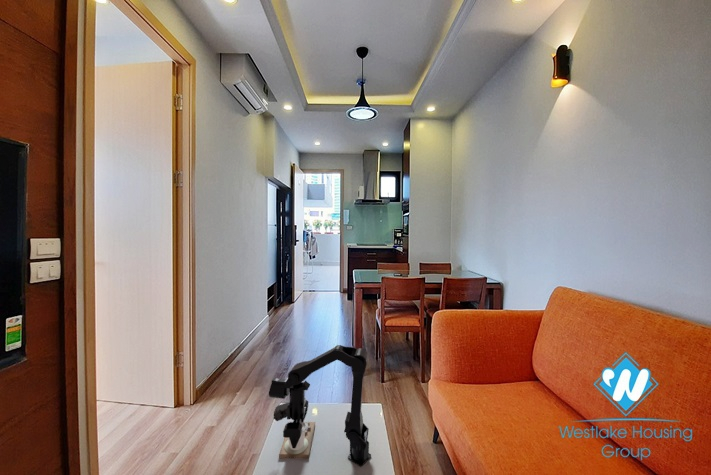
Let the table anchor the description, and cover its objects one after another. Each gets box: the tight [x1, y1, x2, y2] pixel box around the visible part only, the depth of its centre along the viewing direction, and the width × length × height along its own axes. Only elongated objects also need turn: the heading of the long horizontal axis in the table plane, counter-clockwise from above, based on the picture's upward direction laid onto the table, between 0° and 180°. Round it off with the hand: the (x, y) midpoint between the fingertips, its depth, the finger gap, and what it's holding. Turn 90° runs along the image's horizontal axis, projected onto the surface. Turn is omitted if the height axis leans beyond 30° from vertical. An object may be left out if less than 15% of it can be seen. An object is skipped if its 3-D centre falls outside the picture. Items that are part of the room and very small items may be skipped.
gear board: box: [278, 421, 316, 460], centre depth 114 cm, size 11×18×4 cm, turn 0°
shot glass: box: [288, 421, 306, 450], centre depth 110 cm, size 7×7×7 cm
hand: (296, 438), depth 110 cm, fingers open, 9 cm apart
